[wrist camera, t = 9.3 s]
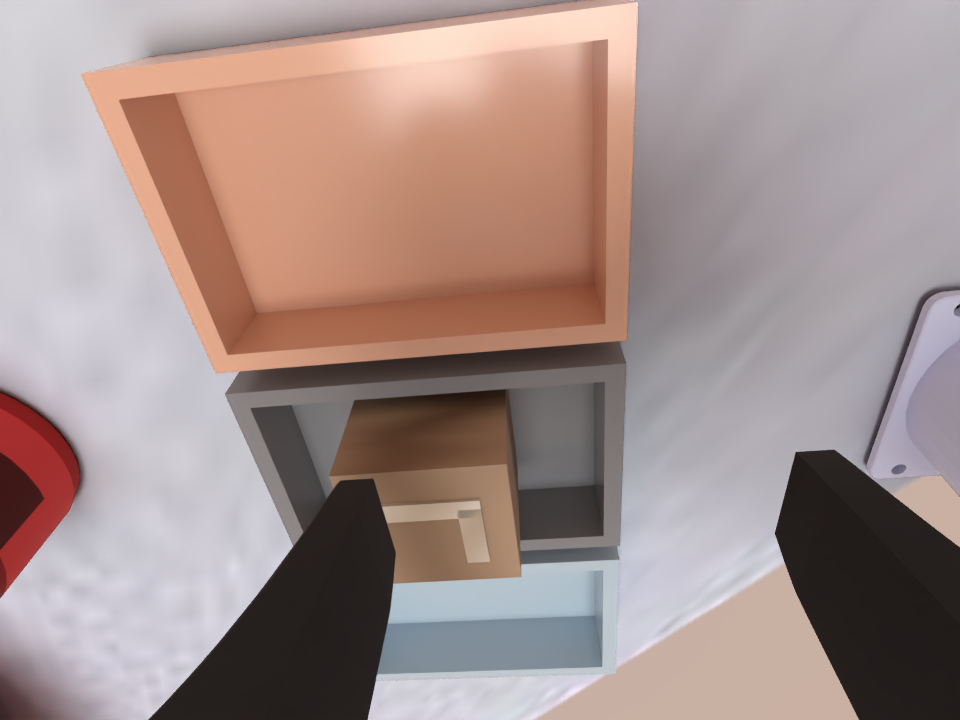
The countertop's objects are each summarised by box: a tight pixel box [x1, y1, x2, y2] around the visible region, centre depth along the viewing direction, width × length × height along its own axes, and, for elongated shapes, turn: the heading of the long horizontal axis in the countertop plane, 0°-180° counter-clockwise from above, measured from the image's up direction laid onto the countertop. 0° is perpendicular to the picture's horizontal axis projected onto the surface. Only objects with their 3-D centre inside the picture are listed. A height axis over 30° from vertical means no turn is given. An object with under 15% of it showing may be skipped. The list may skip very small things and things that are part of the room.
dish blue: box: [376, 546, 619, 681], centre depth 26 cm, size 12×8×3 cm
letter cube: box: [329, 389, 522, 584], centre depth 19 cm, size 5×5×5 cm
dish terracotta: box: [81, 0, 638, 373], centre depth 16 cm, size 12×8×3 cm
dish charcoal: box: [225, 341, 626, 551], centre depth 21 cm, size 12×8×3 cm
